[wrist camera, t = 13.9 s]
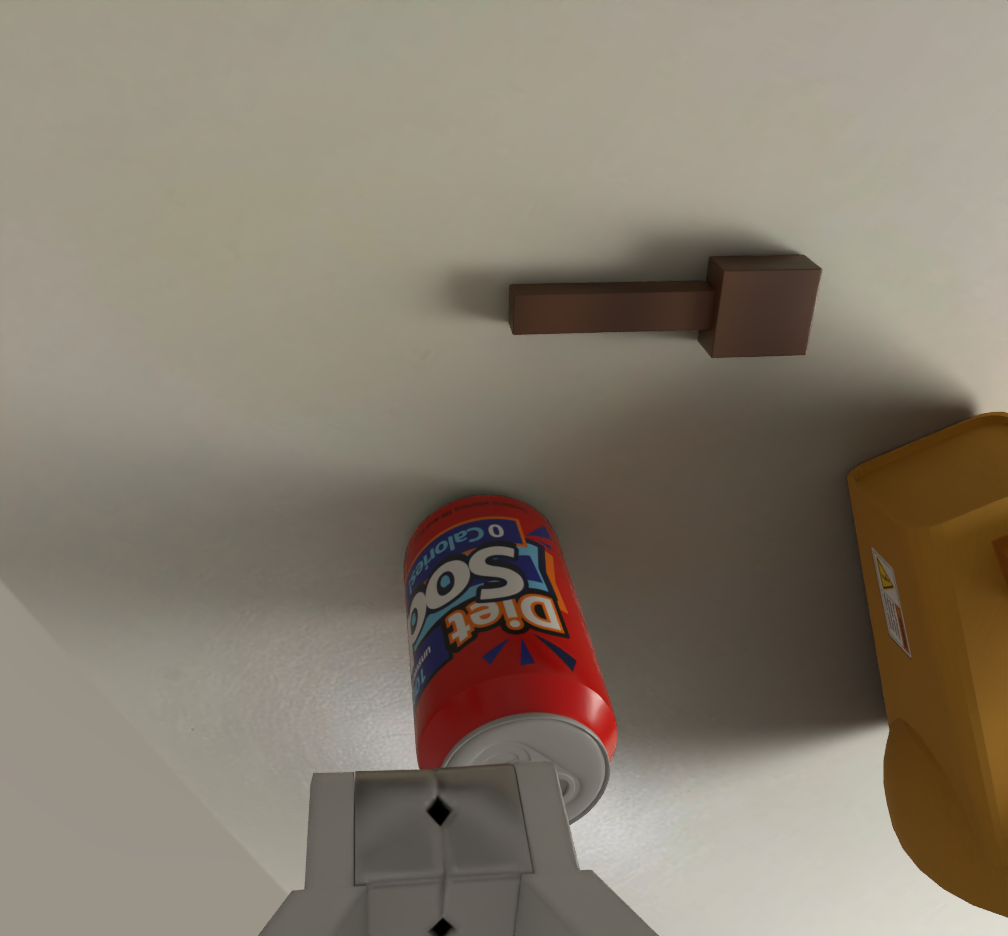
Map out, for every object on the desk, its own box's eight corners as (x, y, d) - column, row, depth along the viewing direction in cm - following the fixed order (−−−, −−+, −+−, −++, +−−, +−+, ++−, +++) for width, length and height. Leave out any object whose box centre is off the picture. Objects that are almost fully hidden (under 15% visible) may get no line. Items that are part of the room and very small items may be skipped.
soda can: (510, 630, 51) (561, 872, 38) (376, 584, 48) (383, 827, 36) (585, 518, 48) (669, 739, 35) (447, 461, 45) (482, 678, 33)
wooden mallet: (507, 346, 43) (513, 364, 41) (510, 259, 41) (516, 274, 39) (788, 338, 44) (805, 355, 43) (804, 254, 42) (823, 268, 41)
